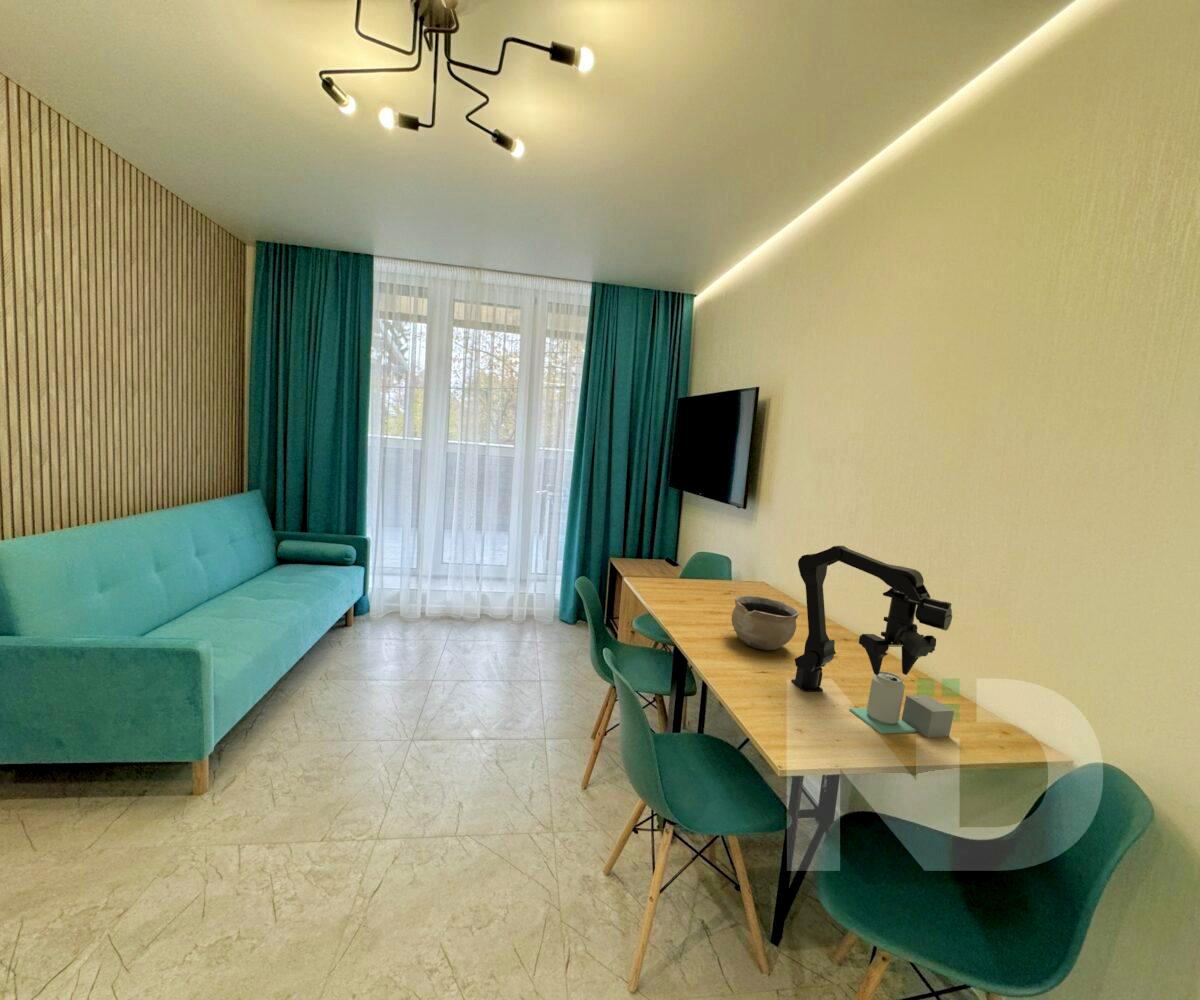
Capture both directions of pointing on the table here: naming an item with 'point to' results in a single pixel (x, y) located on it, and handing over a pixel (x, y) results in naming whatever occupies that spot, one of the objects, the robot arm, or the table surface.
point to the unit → (927, 716)
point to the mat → (881, 728)
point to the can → (885, 698)
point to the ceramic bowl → (763, 622)
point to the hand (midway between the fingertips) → (890, 674)
